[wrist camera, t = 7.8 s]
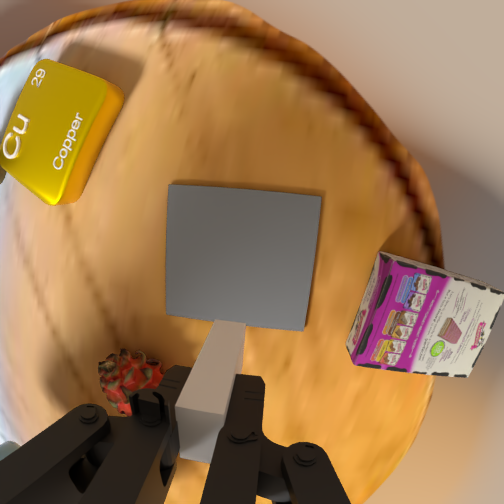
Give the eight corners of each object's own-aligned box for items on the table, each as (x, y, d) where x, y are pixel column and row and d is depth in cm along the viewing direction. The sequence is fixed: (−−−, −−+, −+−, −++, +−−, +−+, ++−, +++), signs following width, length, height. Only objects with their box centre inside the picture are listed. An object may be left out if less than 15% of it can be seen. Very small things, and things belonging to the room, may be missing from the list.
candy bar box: (343, 342, 32) (451, 360, 31) (351, 366, 27) (467, 380, 26) (377, 246, 29) (485, 281, 28) (393, 257, 24) (508, 294, 23)
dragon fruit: (115, 333, 36) (194, 374, 38) (90, 386, 33) (170, 426, 35) (107, 334, 28) (207, 385, 30) (77, 399, 25) (176, 448, 27)
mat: (167, 312, 33) (166, 314, 32) (170, 184, 29) (168, 184, 29) (303, 328, 31) (303, 331, 31) (320, 196, 28) (321, 196, 28)
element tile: (78, 209, 31) (53, 213, 27) (15, 161, 31) (-9, 162, 26) (132, 92, 28) (111, 81, 23) (57, 63, 28) (35, 54, 23)
